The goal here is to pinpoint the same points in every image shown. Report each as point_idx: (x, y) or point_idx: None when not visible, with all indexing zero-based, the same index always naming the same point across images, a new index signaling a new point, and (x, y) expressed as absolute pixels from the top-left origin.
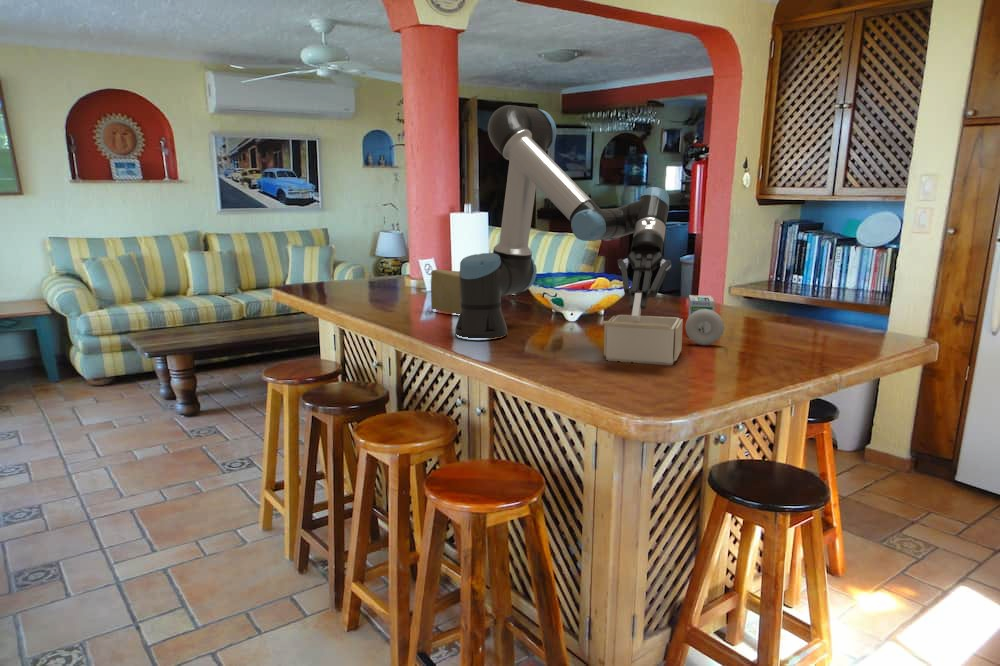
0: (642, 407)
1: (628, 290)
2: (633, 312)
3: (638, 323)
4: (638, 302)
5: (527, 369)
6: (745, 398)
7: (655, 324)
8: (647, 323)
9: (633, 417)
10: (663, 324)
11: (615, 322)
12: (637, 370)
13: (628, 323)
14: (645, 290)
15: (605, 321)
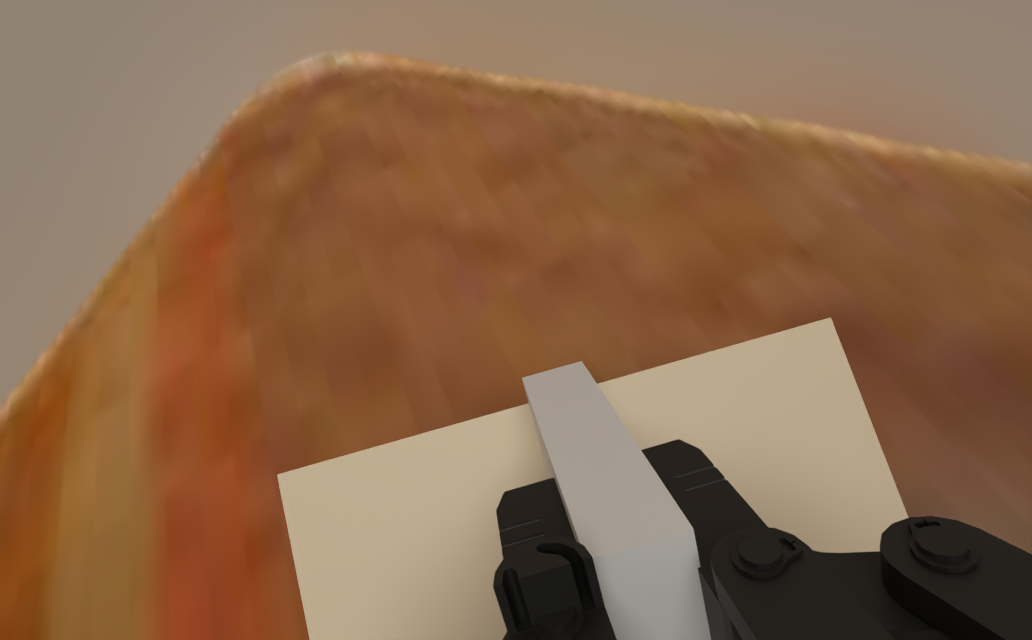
0: (353, 121)
1: (881, 579)
2: (577, 379)
3: (522, 405)
4: (572, 452)
5: (998, 247)
6: (36, 368)
7: (381, 446)
8: (447, 426)
9: (351, 54)
10: (313, 465)
11: (712, 351)
12: None
13: (605, 383)
14: (513, 561)
15: (797, 327)
